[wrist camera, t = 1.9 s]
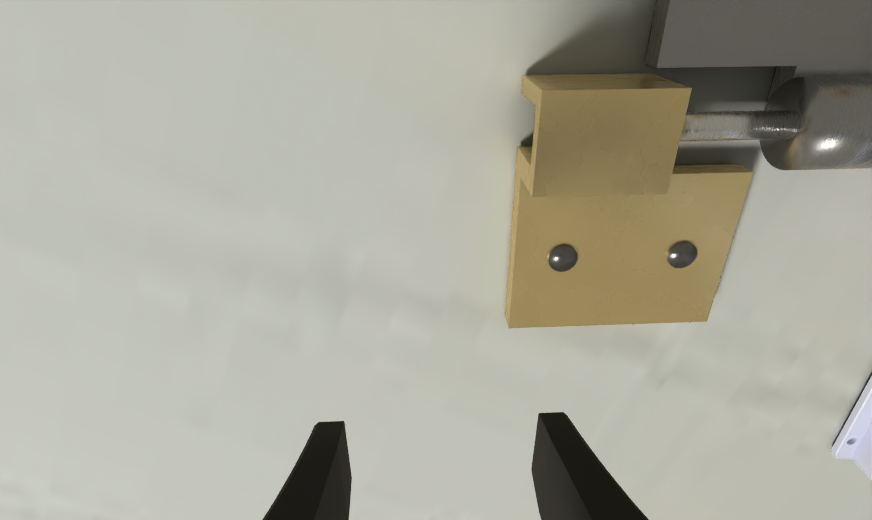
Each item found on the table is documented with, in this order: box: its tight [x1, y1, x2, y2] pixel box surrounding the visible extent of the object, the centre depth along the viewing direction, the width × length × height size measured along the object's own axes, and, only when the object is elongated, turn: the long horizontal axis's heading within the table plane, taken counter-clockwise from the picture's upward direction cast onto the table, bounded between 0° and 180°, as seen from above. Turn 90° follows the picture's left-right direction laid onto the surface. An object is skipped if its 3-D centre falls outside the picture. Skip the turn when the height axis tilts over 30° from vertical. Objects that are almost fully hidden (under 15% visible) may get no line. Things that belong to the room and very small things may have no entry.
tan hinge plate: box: [505, 73, 754, 328], centre depth 19 cm, size 10×9×3 cm
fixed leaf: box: [645, 0, 872, 170], centre depth 16 cm, size 10×9×3 cm
